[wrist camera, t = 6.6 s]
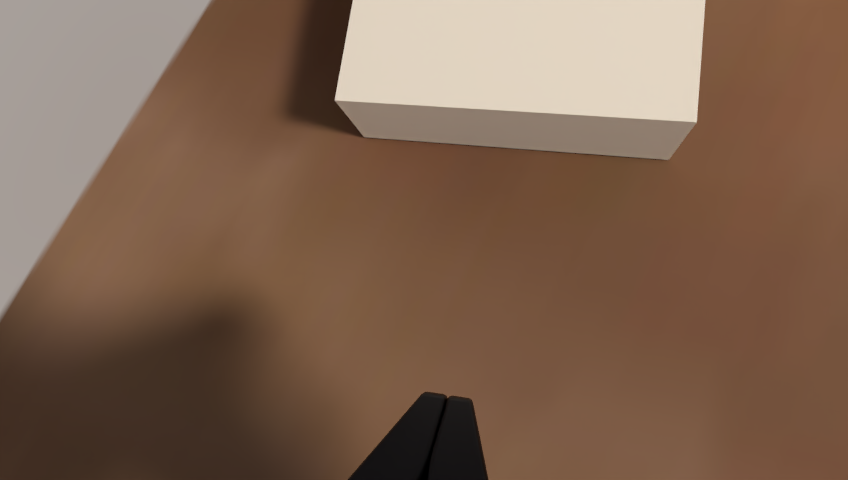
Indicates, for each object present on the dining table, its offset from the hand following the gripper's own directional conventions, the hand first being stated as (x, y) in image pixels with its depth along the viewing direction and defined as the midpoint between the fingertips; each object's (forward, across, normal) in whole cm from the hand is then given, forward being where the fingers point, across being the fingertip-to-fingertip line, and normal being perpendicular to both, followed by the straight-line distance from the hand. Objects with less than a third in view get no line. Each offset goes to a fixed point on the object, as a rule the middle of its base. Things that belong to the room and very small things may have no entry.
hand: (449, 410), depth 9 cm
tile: (+10, 0, -1) cm, 10 cm away
